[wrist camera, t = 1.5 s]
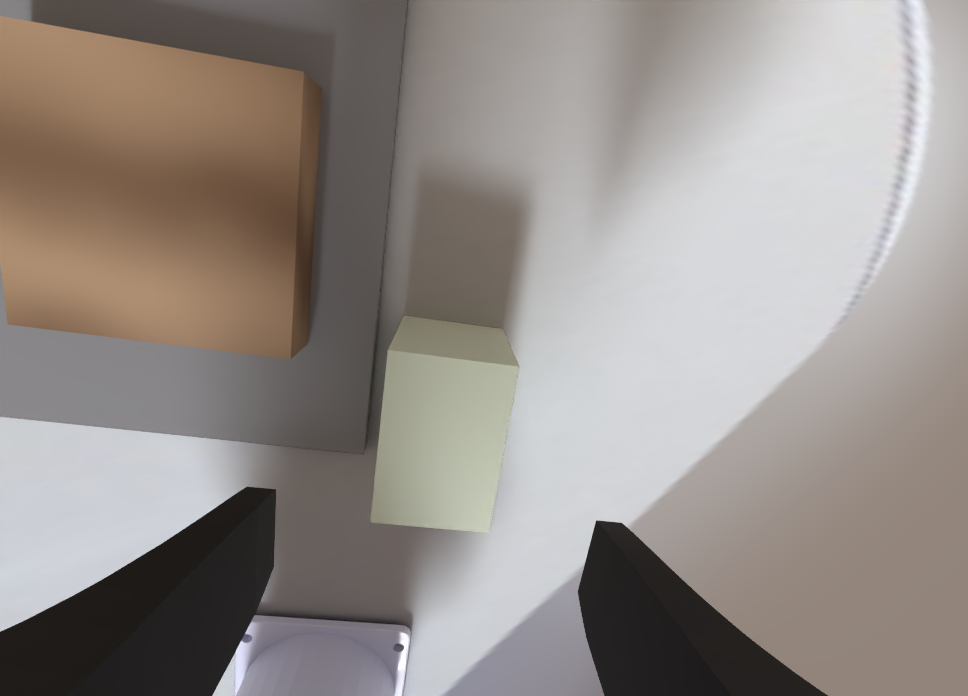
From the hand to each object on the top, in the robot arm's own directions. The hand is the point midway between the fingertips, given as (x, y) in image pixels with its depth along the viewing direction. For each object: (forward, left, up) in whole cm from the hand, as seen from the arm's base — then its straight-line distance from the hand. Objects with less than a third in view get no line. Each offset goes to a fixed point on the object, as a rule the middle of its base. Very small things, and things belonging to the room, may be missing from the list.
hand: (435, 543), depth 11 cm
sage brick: (0, 0, -10) cm, 10 cm away
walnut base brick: (+6, +10, -10) cm, 15 cm away
